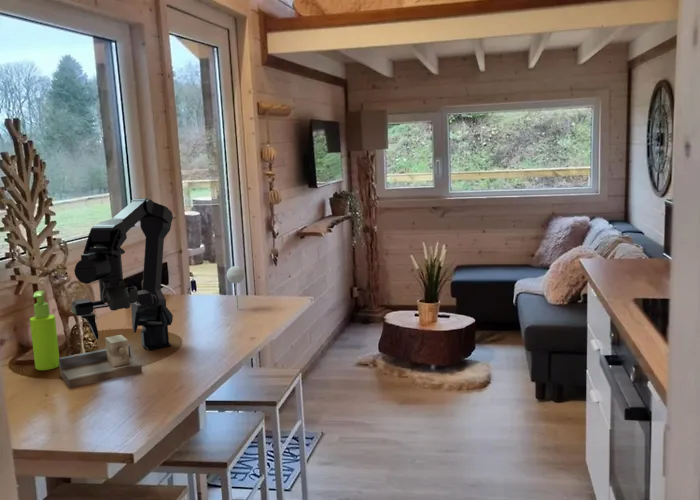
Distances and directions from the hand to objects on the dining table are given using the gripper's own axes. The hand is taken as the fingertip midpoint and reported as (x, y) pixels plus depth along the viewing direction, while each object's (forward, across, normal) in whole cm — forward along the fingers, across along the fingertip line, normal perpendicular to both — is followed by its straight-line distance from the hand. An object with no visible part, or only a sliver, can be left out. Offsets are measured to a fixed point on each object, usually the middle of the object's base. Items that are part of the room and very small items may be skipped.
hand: (116, 335), depth 168 cm
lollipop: (+9, +49, +37) cm, 62 cm away
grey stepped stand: (+9, -5, -1) cm, 10 cm away
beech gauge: (+7, 0, -2) cm, 7 cm away
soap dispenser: (+9, -15, +14) cm, 22 cm away
